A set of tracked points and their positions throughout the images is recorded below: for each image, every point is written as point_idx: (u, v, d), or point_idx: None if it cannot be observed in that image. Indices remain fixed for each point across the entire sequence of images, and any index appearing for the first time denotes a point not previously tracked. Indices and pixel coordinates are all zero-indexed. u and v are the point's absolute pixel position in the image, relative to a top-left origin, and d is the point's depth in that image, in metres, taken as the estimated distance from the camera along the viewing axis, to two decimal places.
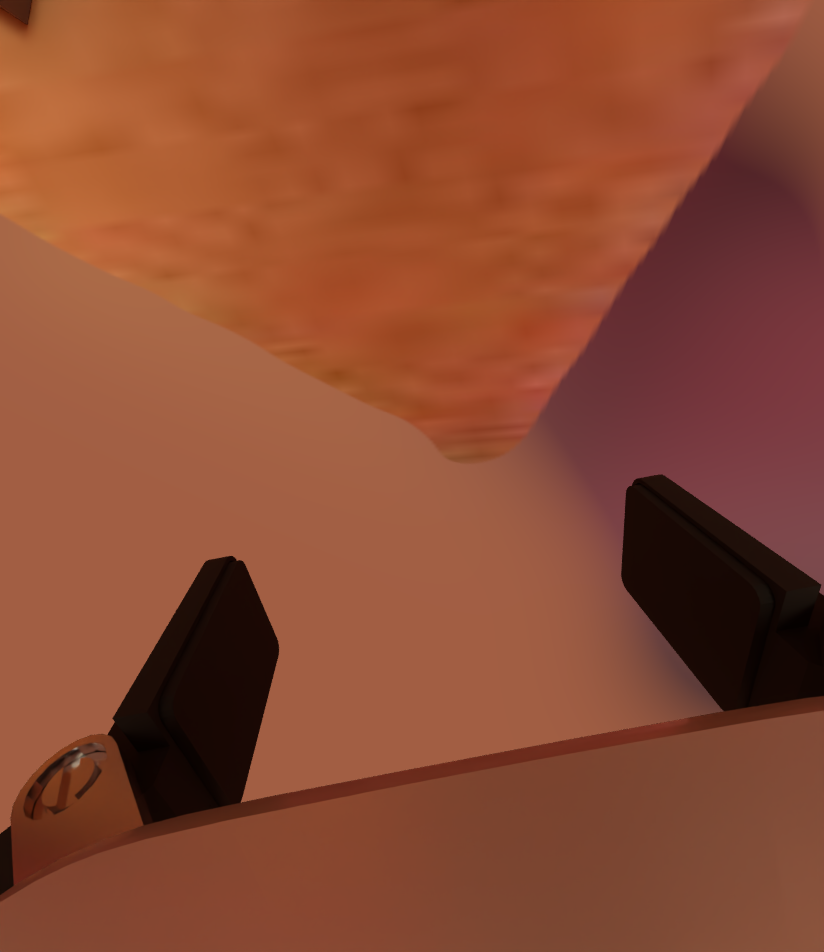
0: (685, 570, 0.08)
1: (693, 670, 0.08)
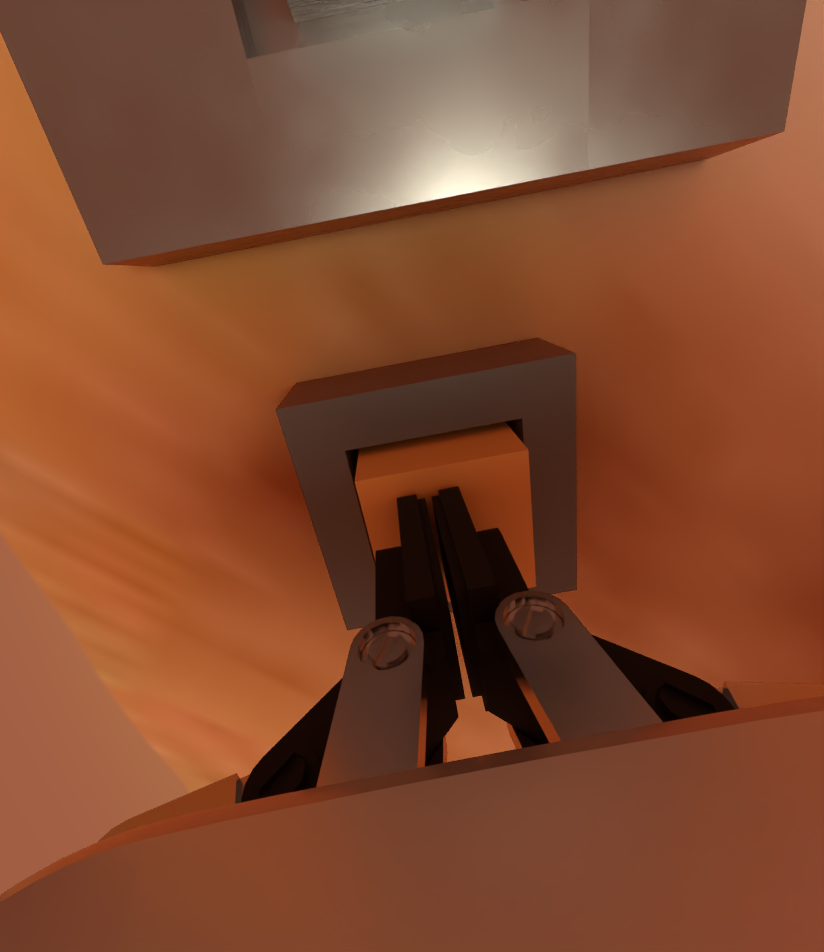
0: (448, 572, 0.09)
1: (464, 660, 0.09)
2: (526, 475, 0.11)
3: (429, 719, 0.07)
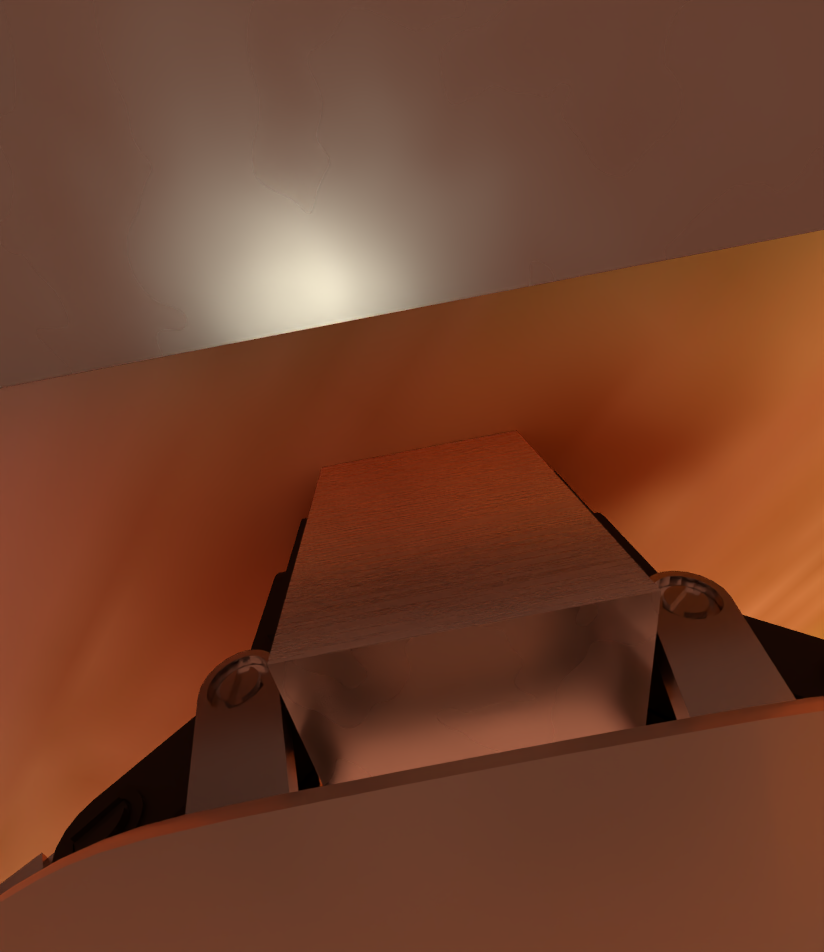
0: None
1: None
2: None
3: (297, 740, 0.07)
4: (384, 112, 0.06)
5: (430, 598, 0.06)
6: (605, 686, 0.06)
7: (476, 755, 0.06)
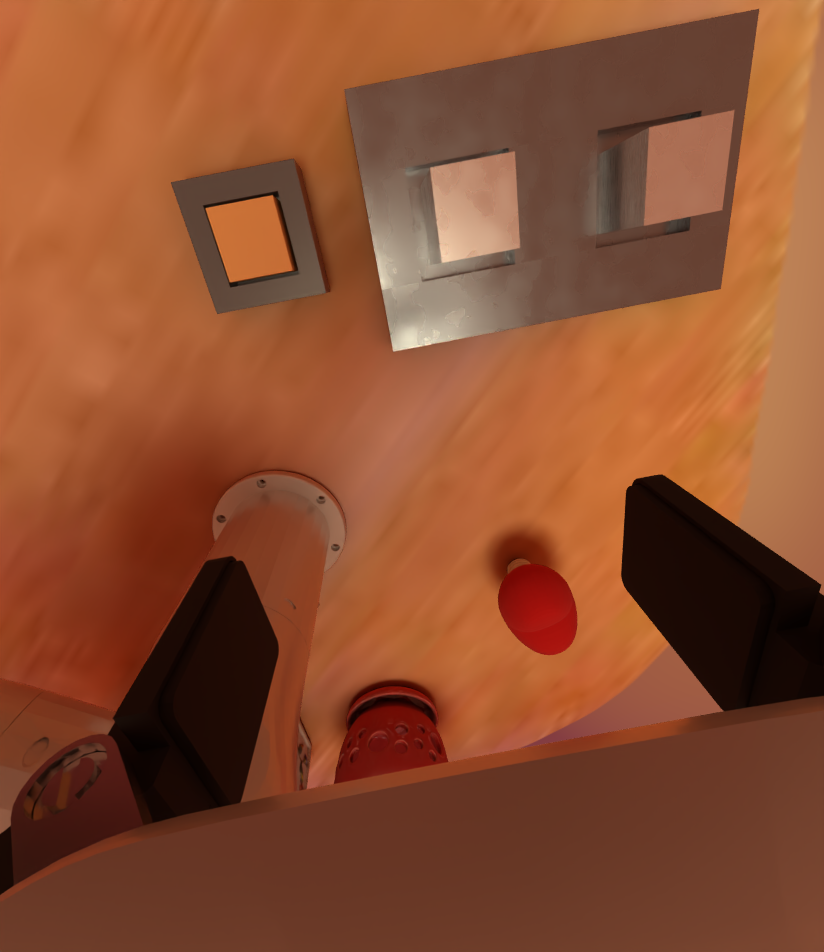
0: (685, 570, 0.08)
1: (693, 670, 0.08)
2: (282, 270, 0.29)
3: None
4: (598, 277, 0.32)
5: None
6: (719, 146, 0.25)
7: (685, 173, 0.26)
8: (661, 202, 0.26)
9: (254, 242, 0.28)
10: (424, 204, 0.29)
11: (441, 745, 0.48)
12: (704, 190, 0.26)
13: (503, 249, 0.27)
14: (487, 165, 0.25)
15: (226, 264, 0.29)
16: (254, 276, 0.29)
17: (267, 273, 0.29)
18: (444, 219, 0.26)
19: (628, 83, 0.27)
